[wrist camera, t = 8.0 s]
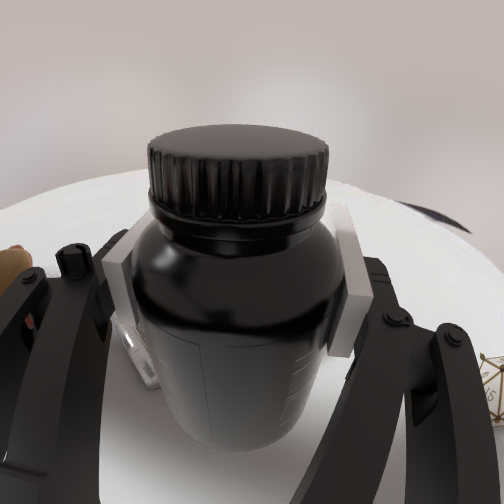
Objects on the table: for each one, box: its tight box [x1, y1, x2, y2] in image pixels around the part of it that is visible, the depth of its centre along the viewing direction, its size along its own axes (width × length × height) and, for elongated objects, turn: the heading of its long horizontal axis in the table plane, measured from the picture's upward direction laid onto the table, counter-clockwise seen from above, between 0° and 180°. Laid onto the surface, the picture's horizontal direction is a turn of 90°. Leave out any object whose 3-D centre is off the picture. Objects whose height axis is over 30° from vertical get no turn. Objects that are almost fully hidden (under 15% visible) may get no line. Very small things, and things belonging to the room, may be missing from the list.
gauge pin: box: [110, 311, 160, 389], centre depth 28 cm, size 12×2×2 cm, turn 38°
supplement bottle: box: [129, 124, 344, 452], centre depth 11 cm, size 7×7×12 cm
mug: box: [0, 245, 33, 328], centre depth 25 cm, size 12×9×10 cm
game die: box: [479, 353, 504, 427], centre depth 19 cm, size 9×8×10 cm
